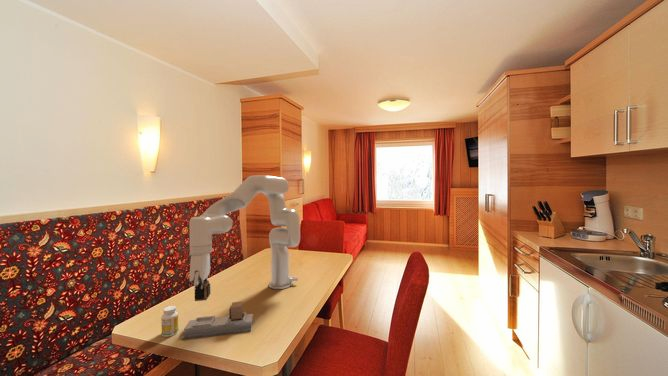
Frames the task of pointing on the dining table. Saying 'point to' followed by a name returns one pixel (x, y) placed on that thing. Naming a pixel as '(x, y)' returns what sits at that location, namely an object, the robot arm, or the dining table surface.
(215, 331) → the rail
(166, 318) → the supplement bottle
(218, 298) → the dining table surface
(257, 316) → the dining table surface
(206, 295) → the brown rectangular block
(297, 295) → the dining table surface
